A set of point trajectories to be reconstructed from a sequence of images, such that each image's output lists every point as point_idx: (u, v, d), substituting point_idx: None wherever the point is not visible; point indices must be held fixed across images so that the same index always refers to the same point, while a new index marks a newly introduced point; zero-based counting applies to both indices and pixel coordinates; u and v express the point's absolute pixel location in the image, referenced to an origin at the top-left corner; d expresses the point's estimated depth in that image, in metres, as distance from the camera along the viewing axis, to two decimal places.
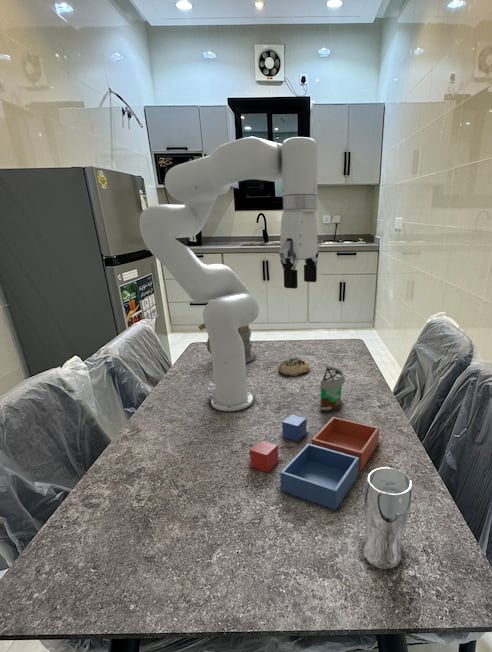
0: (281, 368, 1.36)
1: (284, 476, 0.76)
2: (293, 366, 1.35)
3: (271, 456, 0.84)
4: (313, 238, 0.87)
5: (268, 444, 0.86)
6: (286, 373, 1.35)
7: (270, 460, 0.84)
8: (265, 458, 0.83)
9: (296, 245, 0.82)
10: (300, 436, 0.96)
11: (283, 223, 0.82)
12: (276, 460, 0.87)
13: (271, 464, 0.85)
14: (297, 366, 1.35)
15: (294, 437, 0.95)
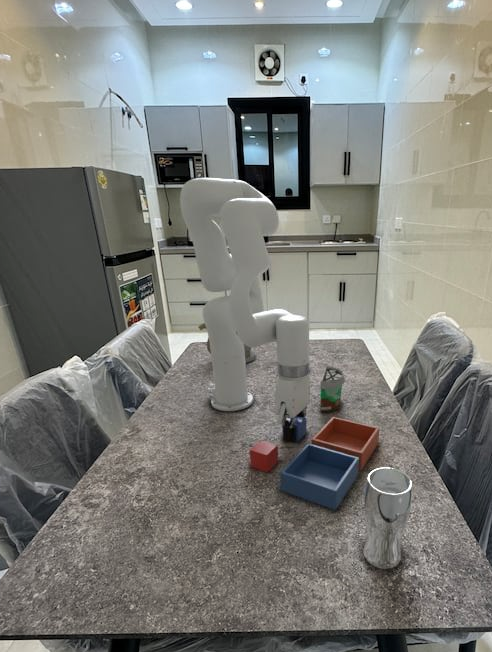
0: None
1: (284, 476, 0.76)
2: None
3: (271, 456, 0.84)
4: (305, 394, 0.94)
5: (268, 444, 0.86)
6: None
7: (270, 460, 0.84)
8: (265, 458, 0.83)
9: (289, 408, 0.89)
10: (300, 436, 0.96)
11: (277, 388, 0.89)
12: (276, 460, 0.87)
13: (271, 464, 0.85)
14: None
15: None
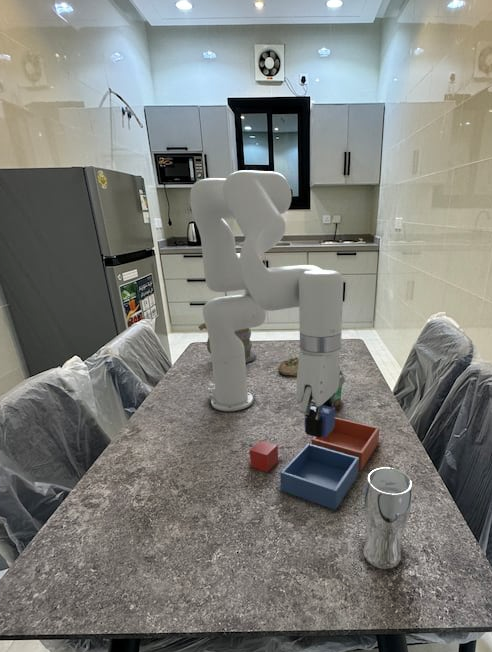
0: (281, 368, 1.36)
1: (284, 476, 0.76)
2: (293, 366, 1.35)
3: (271, 456, 0.84)
4: (335, 376, 0.72)
5: (268, 444, 0.86)
6: (286, 373, 1.35)
7: (270, 460, 0.84)
8: (265, 458, 0.83)
9: (316, 394, 0.68)
10: (328, 430, 0.74)
11: (300, 367, 0.68)
12: (276, 460, 0.87)
13: (271, 464, 0.85)
14: (297, 366, 1.35)
15: None
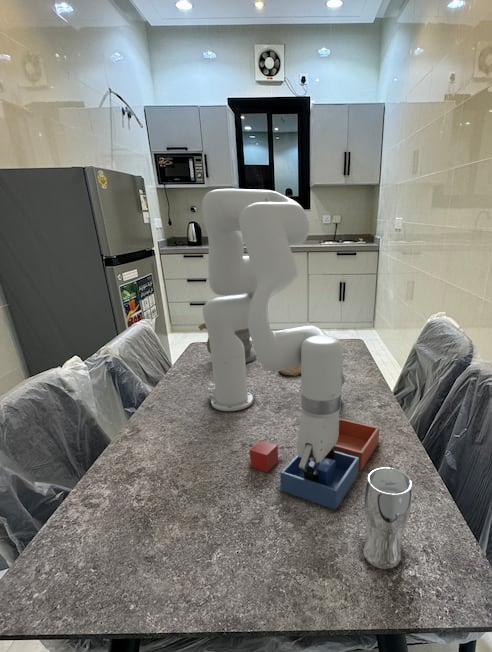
0: None
1: (284, 476, 0.76)
2: None
3: (271, 456, 0.84)
4: (335, 431, 0.76)
5: (268, 444, 0.86)
6: (286, 373, 1.35)
7: (270, 460, 0.84)
8: (265, 458, 0.83)
9: (317, 452, 0.72)
10: (328, 483, 0.78)
11: (302, 426, 0.71)
12: (276, 460, 0.87)
13: (271, 464, 0.85)
14: (297, 366, 1.35)
15: (322, 484, 0.77)
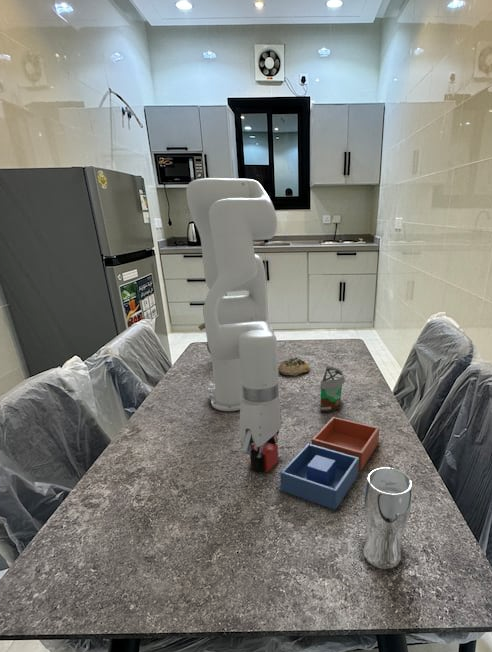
0: (281, 368, 1.36)
1: (284, 476, 0.76)
2: (293, 366, 1.35)
3: (271, 456, 0.84)
4: (275, 419, 0.83)
5: (268, 444, 0.86)
6: (286, 373, 1.35)
7: (270, 460, 0.84)
8: (265, 458, 0.83)
9: (255, 437, 0.78)
10: (328, 483, 0.78)
11: (242, 413, 0.78)
12: (276, 460, 0.87)
13: (271, 464, 0.85)
14: (297, 366, 1.35)
15: (322, 484, 0.77)
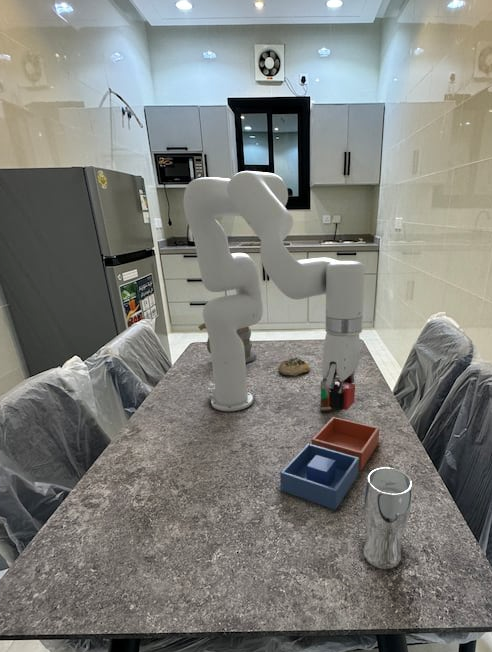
0: (281, 368, 1.36)
1: (284, 476, 0.76)
2: (293, 366, 1.35)
3: (350, 394, 0.84)
4: (356, 355, 0.82)
5: (346, 383, 0.85)
6: (286, 373, 1.35)
7: (349, 398, 0.83)
8: (345, 395, 0.82)
9: (340, 369, 0.77)
10: (328, 483, 0.78)
11: (327, 346, 0.77)
12: (353, 400, 0.86)
13: (350, 403, 0.84)
14: (297, 366, 1.35)
15: (322, 484, 0.77)
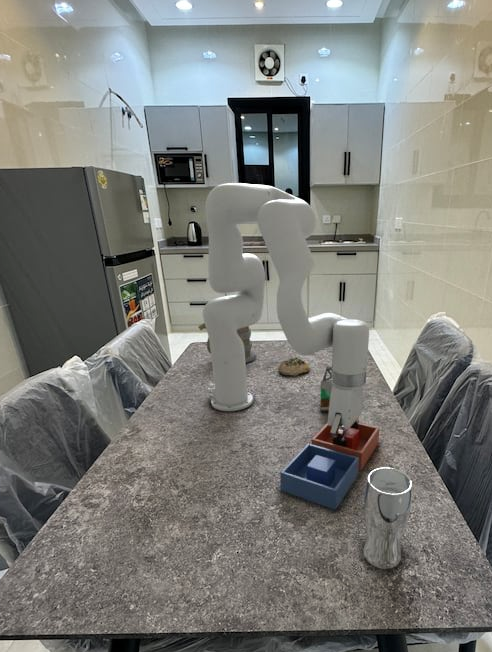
0: (281, 368, 1.36)
1: (284, 476, 0.76)
2: (293, 366, 1.35)
3: (355, 440, 0.89)
4: (359, 404, 0.87)
5: (350, 429, 0.91)
6: (286, 373, 1.35)
7: (354, 443, 0.89)
8: (350, 441, 0.87)
9: (345, 420, 0.83)
10: (328, 483, 0.78)
11: (333, 398, 0.83)
12: (357, 444, 0.91)
13: (354, 447, 0.90)
14: (297, 366, 1.35)
15: (322, 484, 0.77)
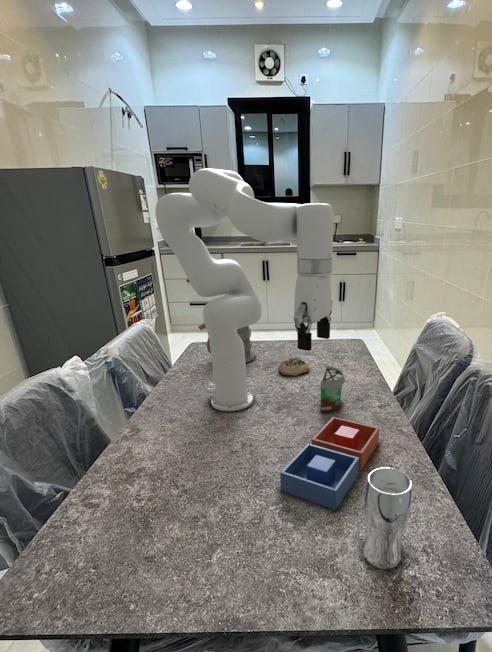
0: (281, 368, 1.36)
1: (284, 476, 0.76)
2: (293, 366, 1.35)
3: (355, 440, 0.89)
4: (327, 299, 0.85)
5: (350, 429, 0.91)
6: (286, 373, 1.35)
7: (354, 443, 0.89)
8: (350, 441, 0.87)
9: (311, 310, 0.81)
10: (328, 483, 0.78)
11: (298, 287, 0.80)
12: (357, 444, 0.91)
13: (354, 447, 0.90)
14: (297, 366, 1.35)
15: (322, 484, 0.77)
